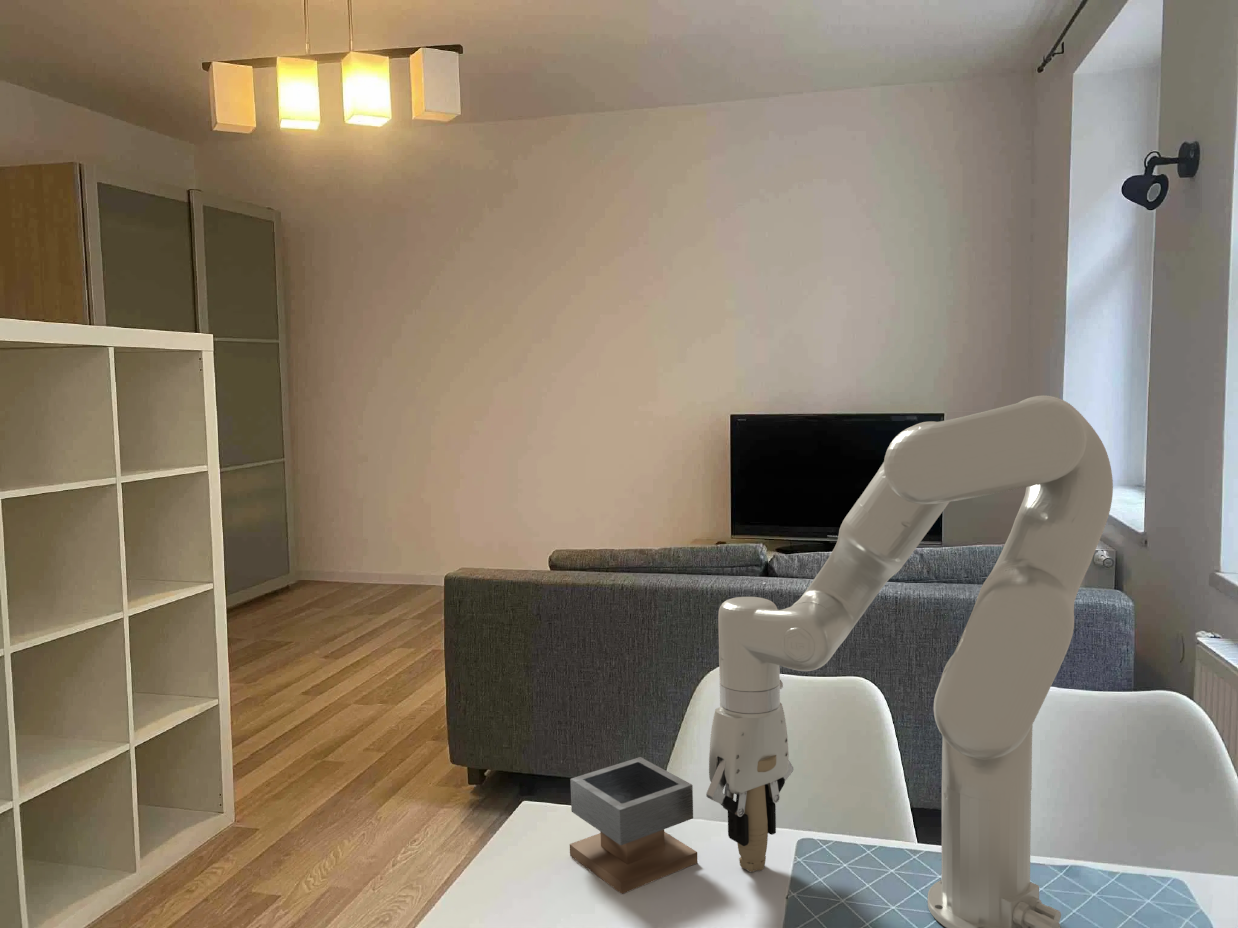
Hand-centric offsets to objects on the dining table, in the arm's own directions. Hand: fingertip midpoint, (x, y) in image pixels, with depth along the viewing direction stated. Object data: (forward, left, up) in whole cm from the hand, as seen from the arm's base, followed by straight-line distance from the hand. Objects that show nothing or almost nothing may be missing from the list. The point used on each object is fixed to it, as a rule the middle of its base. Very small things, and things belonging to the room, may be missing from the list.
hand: (752, 834), depth 119 cm
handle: (0, 0, -4) cm, 4 cm away
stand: (+11, +11, -4) cm, 16 cm away
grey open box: (+11, +11, +2) cm, 16 cm away
